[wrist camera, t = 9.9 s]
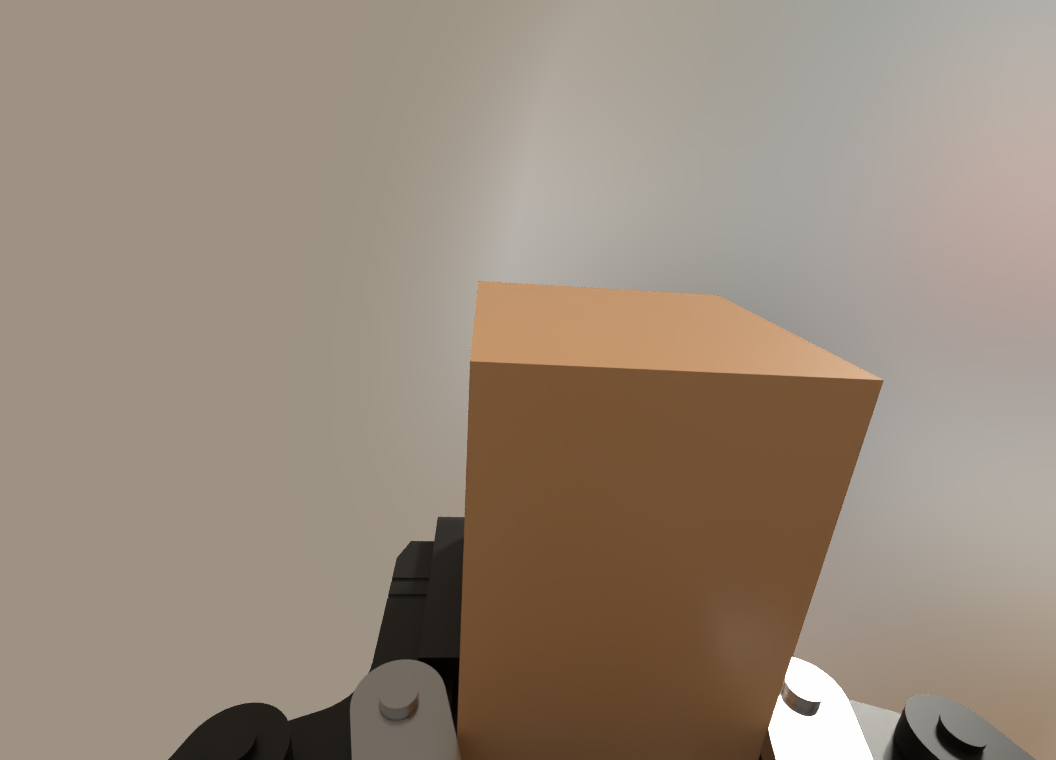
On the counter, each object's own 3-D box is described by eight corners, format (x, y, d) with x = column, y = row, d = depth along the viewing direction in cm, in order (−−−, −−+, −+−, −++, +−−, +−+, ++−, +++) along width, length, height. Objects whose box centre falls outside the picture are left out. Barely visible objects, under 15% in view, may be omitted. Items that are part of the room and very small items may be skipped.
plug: (606, 851, 14) (717, 295, 9) (648, 1091, 10) (883, 380, 5) (456, 856, 14) (478, 280, 9) (443, 1108, 10) (470, 361, 5)
